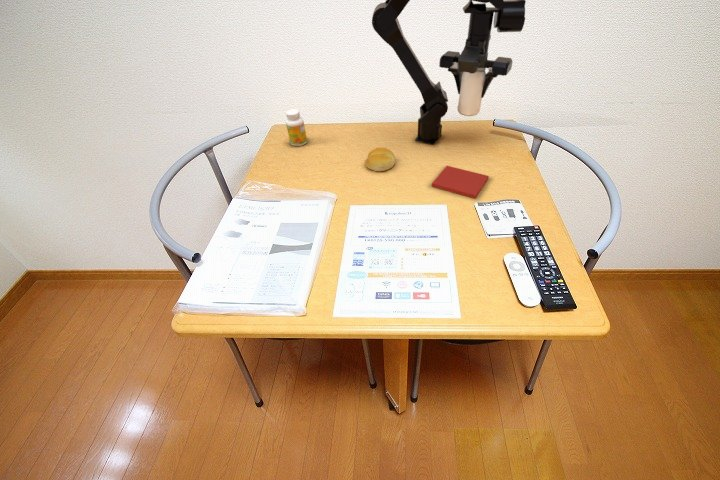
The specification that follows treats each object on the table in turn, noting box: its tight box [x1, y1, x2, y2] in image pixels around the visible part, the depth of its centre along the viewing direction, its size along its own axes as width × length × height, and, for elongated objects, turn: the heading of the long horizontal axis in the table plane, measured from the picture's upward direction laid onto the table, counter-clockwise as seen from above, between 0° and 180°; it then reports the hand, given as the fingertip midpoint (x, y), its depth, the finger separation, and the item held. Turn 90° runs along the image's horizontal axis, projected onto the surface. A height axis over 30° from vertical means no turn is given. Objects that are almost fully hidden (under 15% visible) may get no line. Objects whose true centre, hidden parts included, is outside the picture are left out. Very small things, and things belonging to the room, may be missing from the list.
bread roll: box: [364, 147, 396, 172], centre depth 103 cm, size 8×9×4 cm
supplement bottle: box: [285, 108, 308, 147], centre depth 112 cm, size 5×5×10 cm
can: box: [457, 68, 487, 117], centre depth 104 cm, size 6×6×12 cm
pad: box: [431, 165, 489, 199], centre depth 96 cm, size 12×10×1 cm
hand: (470, 95), depth 104 cm, fingers closed on can, 6 cm apart
